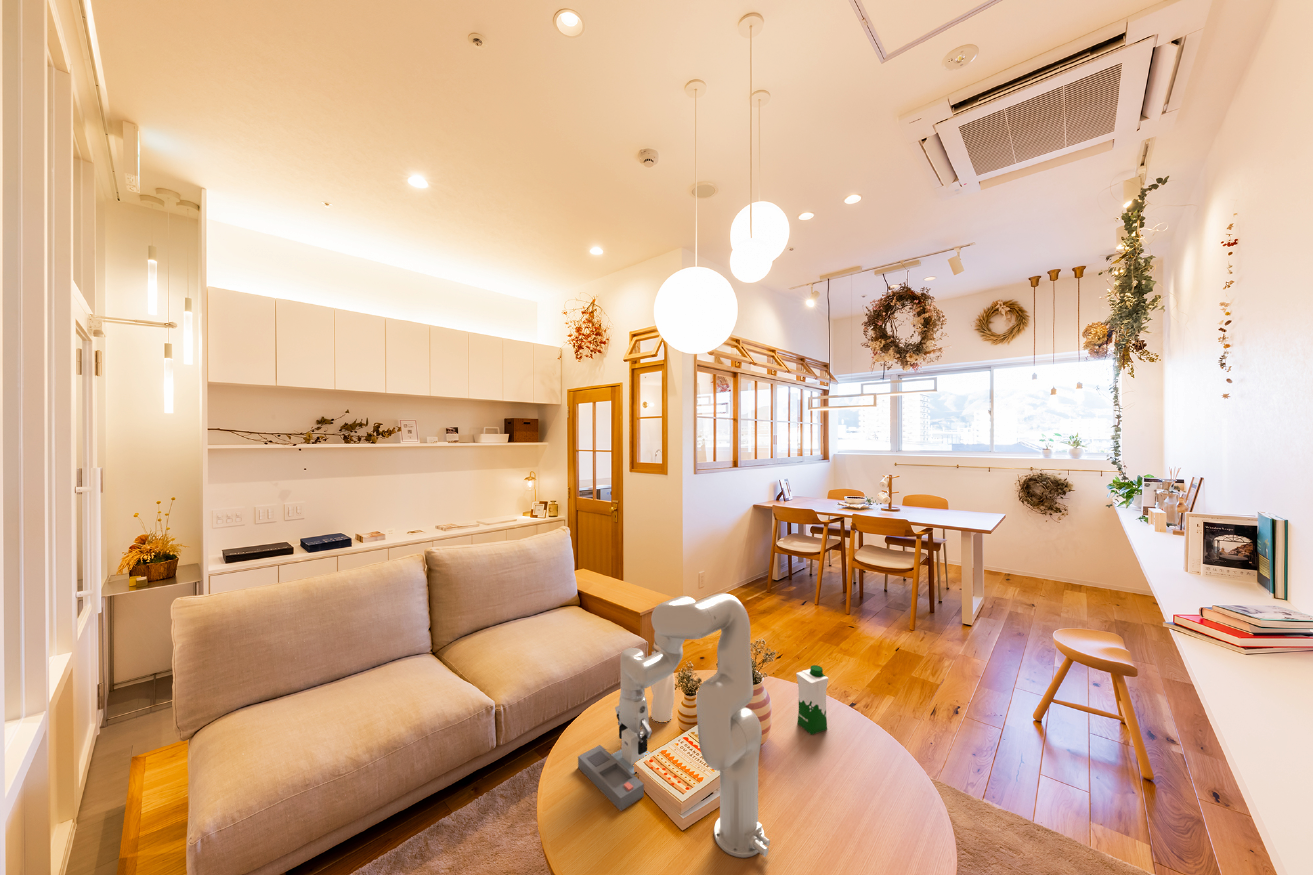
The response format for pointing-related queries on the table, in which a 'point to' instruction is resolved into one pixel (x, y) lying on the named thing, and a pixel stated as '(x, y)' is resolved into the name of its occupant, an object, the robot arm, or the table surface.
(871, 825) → the table surface
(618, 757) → the coaster
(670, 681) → the water bottle
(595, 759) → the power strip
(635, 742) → the block
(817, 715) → the milk carton
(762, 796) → the table surface
